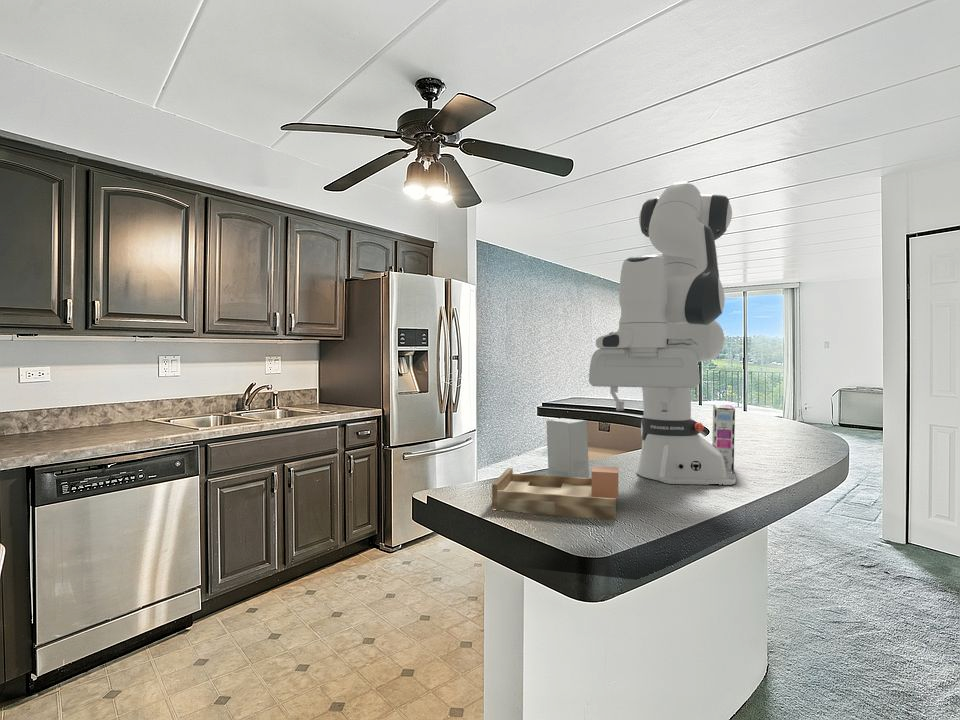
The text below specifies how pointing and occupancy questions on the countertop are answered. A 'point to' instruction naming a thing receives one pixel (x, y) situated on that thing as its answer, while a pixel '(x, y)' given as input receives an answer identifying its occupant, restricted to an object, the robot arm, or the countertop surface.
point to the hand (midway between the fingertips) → (642, 411)
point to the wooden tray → (550, 496)
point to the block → (605, 482)
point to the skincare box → (567, 448)
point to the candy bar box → (724, 433)
